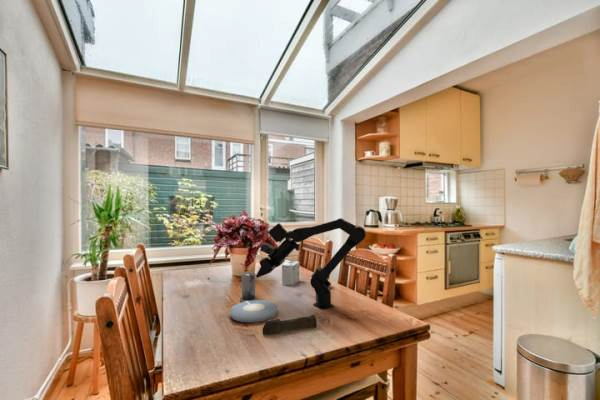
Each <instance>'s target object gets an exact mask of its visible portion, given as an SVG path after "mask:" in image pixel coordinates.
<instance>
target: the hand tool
mask: <svg viewBox="0 0 600 400" xmlns="http://www.w3.org/2000/svg"><path fill="white" fill-rule="evenodd" d="M317 326H318V324H317V317H316V315H314V314H311V315H309V316H302V317H301V316H300V317H296V318H291V319H283V320H281V319H280V318H276V319H268V320H267V321H265V322H264V325H263V327H262V331H261V332H262V335H264V336H271V335H279V334H281V333H283V332H287V331H293V330H298V329H299V330H300V329H306V328H312V327H314V328H317Z"/></svg>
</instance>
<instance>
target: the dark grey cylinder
mask: <svg viewBox="0 0 600 400" xmlns="http://www.w3.org/2000/svg"><path fill="white" fill-rule="evenodd" d="M251 300H258V296H256V273H255V272H249V271H247V272H243V273H241V297H239V303H241V302H245V301H251Z"/></svg>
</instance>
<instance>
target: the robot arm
mask: <svg viewBox="0 0 600 400" xmlns="http://www.w3.org/2000/svg"><path fill="white" fill-rule="evenodd" d="M338 229H339V230H342V231H343V232H344V233H346V234H348V235H349V236H348V237H347V239H346V241H345V242H344V243H343V244H342V245H341V246H340V248H339V249H338V250H337V251H336V253H335V254H334V255H333V256H332V257H331V258H330V259H329V261H328V262H327V263H326V264H325V265H324V266H322V267H321V265H319V266H318V267H317V269H316V270H315V271H314V272H312V274H311V276H310V277H311V279H310V285H311V287H312V288H313V289H314V292H315V303H314V302H313V304H312V305H313V306H314V307H316V308H319V309H320V310H325V309H328V308H333V307H334V306H335V305H334V304H332V299H331V298H332V297H331V296H332V293H331V290H330V289H331V287H332V283H331V282H330V280H329V277H330V275H331V274H332V272H333V271H334V270H335V269H336V268H337V266H339V264H341V262H342V261H343V259H344V258H345V257H346V256H347V255H348V253H350V251H352V249H353V248H355V247H357V246H358V245H359V244H360V243H361V242H362V241H364V240H365V238H366V236H367V232H366V229H365V227H363V226H361V225H355V224H353V223H351V222H349V221H346V220H345V219H344V218H338V219H334V220H331V221H328V222H324V223H321V224H317V225H314V226H303V227H297V228H295V229H293V230H289V231H288V230H286V229H285V228H284V226H283V225H282V224H281V222H279V223H276V225H275V226H273V227H272V228H270V230H269V231H268V232H267V234H268V235H269V236H270V237H271V238H272V239H273V241H274V242H275V243H280V244H279V245H278V246H277V247H275V246H274V245H272V244H270V243H269V242H264V243H262V245H260V249H259V250H260V252H263V253H265V254H267V257H263V258H262V259H261V260H260V261H259V265H260V267H259V269H258V271H257V273H256V274H255V278H258V279H259V278H260V277H263V276H266V275H268V274H271V273H272V272H273V271H274V270H275V269H276V268H278V267H280V266H282V265H283V264H284V262H285V261H286V260H285V259H286V258H287V257H289V256H290V254H292V252H293V251H294V250H295V251H298V252H299V251H300V250H301V243H300V242H303V241H304V240H307V239H309V238H312V237H313V236H316V235H320V234H324V233H327V232H330V231H334V230H338ZM327 279H328V280H327Z"/></svg>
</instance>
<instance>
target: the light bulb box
mask: <svg viewBox="0 0 600 400" xmlns="http://www.w3.org/2000/svg"><path fill="white" fill-rule="evenodd" d="M300 271H301V269H300V261H294V260H292V261H291V260H288V261H287V262H285V263H283V264H281V285H283V286H293V287H294V285H296V284H297V283H298V282H300V280H301V279H300V273H301V272H300Z"/></svg>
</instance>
